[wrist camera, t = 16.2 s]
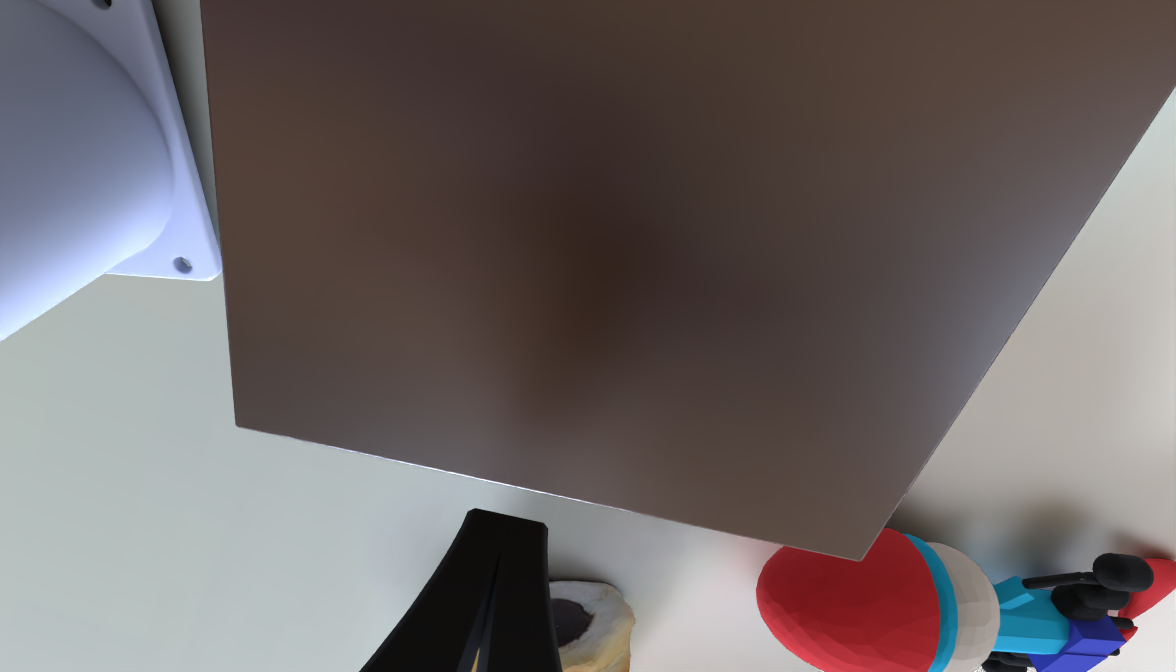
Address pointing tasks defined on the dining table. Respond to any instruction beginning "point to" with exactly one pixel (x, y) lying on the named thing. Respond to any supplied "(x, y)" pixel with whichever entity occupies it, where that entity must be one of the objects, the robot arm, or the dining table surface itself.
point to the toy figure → (951, 610)
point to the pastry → (590, 627)
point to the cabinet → (658, 232)
